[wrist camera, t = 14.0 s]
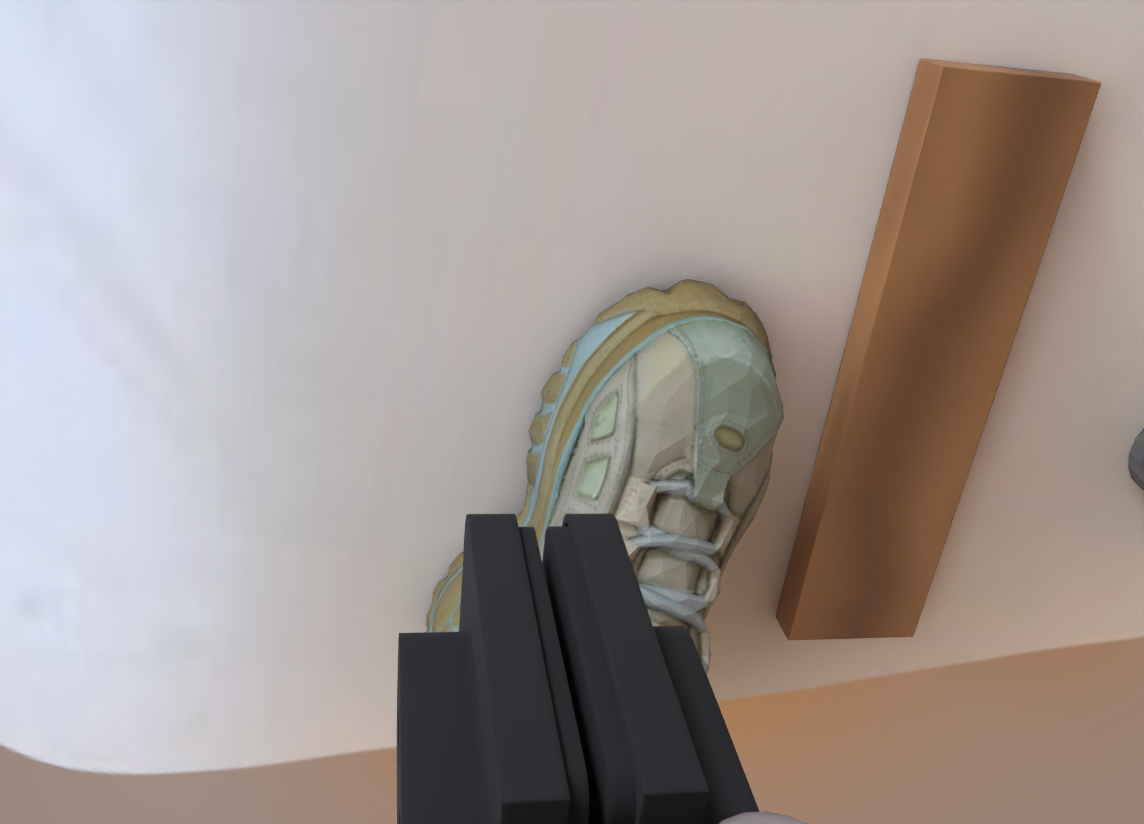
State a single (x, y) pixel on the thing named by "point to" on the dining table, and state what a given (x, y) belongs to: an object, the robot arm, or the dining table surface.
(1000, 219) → the oak board
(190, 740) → the dining table surface
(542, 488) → the sneaker
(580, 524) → the robot arm
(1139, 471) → the beverage cup
